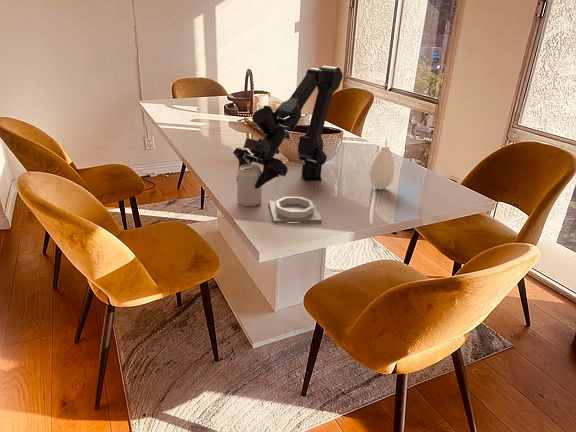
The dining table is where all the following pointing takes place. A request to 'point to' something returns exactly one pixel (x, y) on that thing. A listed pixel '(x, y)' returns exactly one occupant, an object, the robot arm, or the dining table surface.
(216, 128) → the dining table surface
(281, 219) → the housing
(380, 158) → the sauce bottle
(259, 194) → the can
